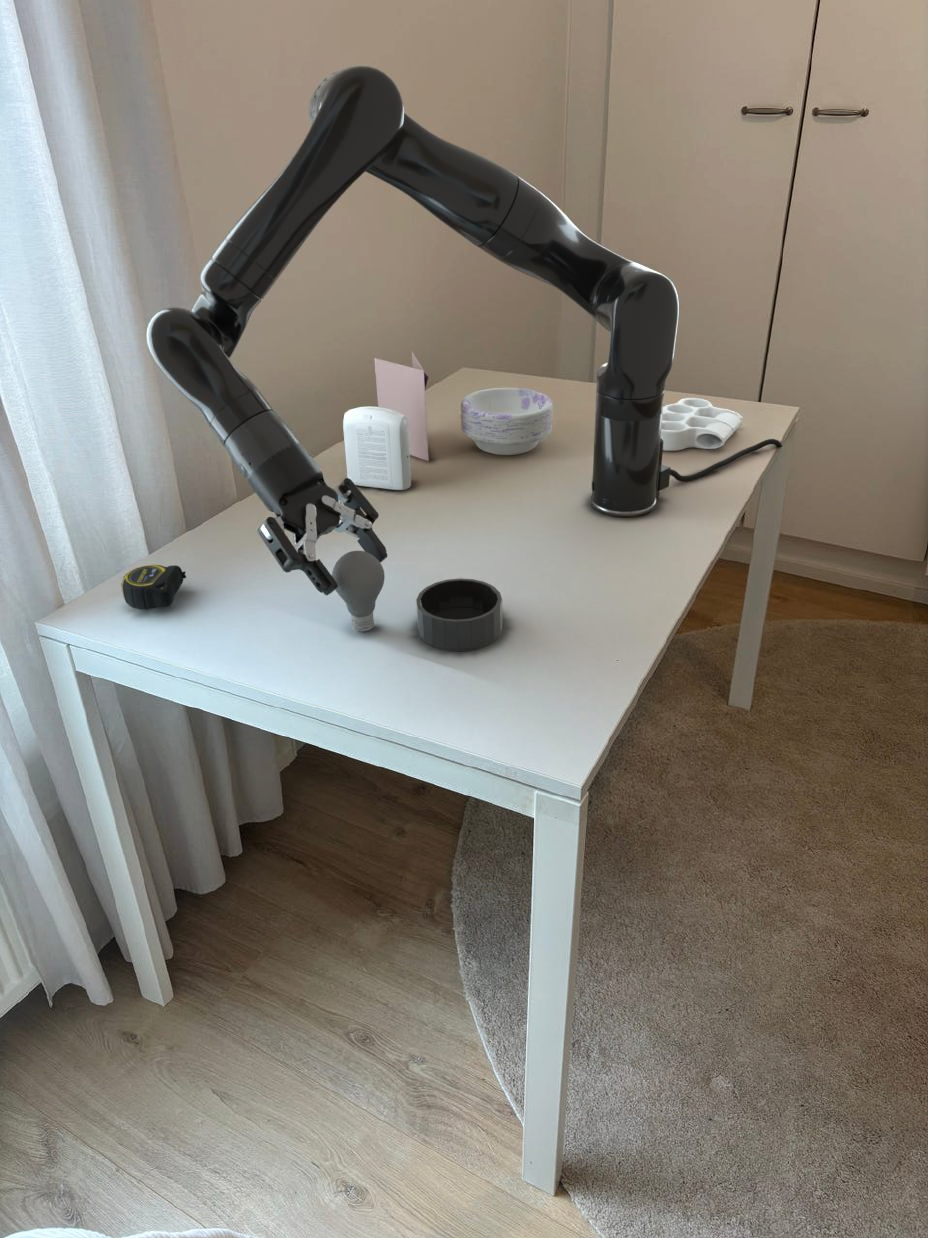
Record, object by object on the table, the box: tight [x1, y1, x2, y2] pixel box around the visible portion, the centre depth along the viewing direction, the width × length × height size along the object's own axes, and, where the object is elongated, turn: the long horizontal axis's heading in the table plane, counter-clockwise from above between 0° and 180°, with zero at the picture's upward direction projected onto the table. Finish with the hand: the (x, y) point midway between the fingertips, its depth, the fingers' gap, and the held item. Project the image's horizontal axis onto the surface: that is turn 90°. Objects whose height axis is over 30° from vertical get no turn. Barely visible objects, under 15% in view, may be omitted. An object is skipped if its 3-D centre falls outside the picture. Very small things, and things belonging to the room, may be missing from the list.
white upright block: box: [342, 406, 412, 491], centre depth 145 cm, size 10×4×12 cm, turn 73°
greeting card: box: [374, 351, 430, 462], centre depth 156 cm, size 11×7×15 cm, turn 12°
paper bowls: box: [460, 387, 554, 456], centre depth 158 cm, size 15×15×8 cm
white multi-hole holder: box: [661, 397, 744, 452], centre depth 162 cm, size 3×18×15 cm
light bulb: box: [331, 550, 386, 632], centre depth 109 cm, size 6×6×10 cm
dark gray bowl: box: [415, 577, 503, 652], centre depth 110 cm, size 10×10×4 cm
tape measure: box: [120, 564, 187, 611], centre depth 118 cm, size 7×7×4 cm
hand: (358, 575), depth 108 cm, fingers open, 8 cm apart
